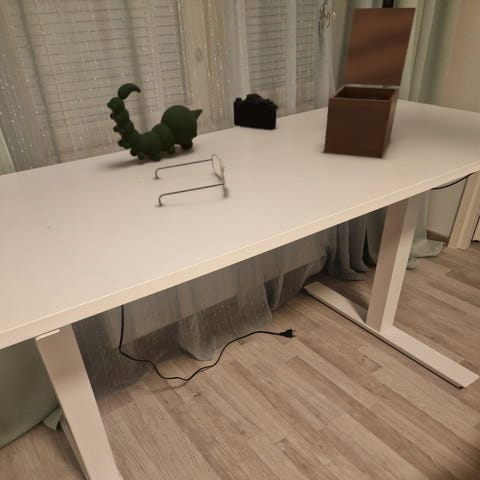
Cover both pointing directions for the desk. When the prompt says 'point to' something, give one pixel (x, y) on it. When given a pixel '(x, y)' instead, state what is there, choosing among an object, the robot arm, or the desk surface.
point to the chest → (360, 120)
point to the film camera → (255, 112)
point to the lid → (378, 46)
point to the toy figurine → (161, 136)
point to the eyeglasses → (195, 188)
